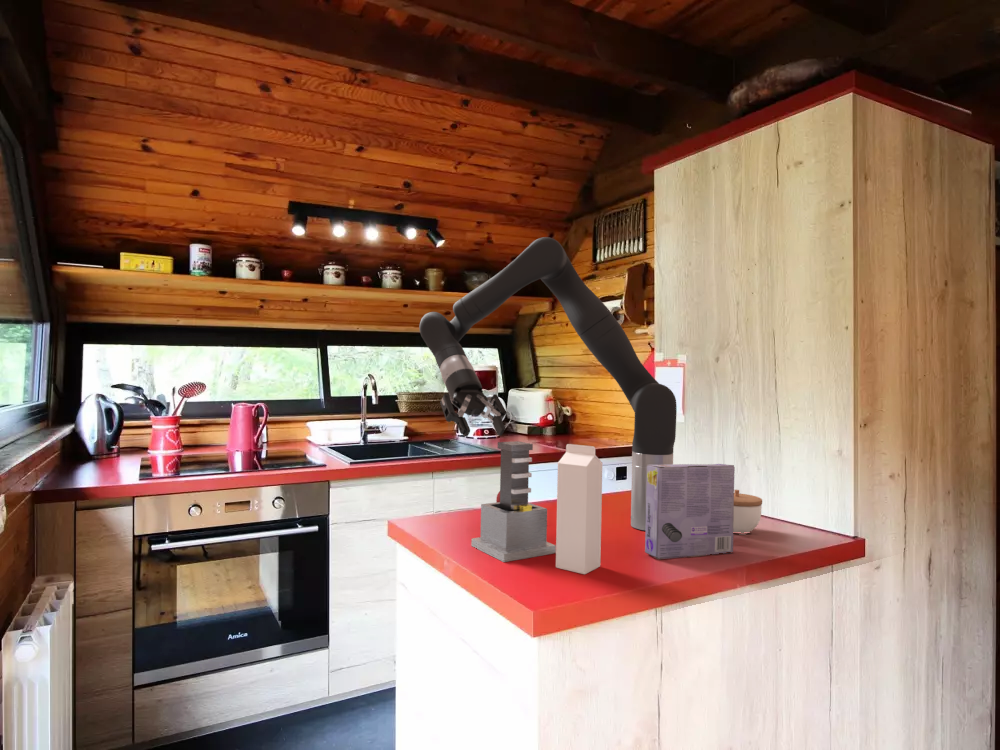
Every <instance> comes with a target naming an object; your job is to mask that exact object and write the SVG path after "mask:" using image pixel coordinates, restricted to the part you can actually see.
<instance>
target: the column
mask: <svg viewBox="0 0 1000 750" xmlns="http://www.w3.org/2000/svg"><path fill="white" fill-rule="evenodd" d="M533 446H534V444H533V443H530V442H525V441H519V440H518V441H517V440H516V441H501V442H500V441H497V449H500V474H499V475H500V482H499V485H500V487H499V491H500V509H502V510H505V511H508V512H511V511H519V510H520V505H526V504H529V505H531V504H532V503H531V502H529V494H531V493H532V488H531V487H529V478H532V472H529V471H530V470H529V469H530V468H529V465H530V464H529V463H532V462H533V457H530V451H533V448H534V447H533ZM530 503H531V504H530Z"/></svg>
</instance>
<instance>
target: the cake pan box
mask: <svg viewBox="0 0 1000 750" xmlns="http://www.w3.org/2000/svg"><path fill="white" fill-rule="evenodd" d="M735 471H736V470H735V465H733V464H726V463H725V464H724V463H713V464H712V463H709V464H706V463H703V464H702V463H700V464H698V463H696V464H695V463H694V464H693V463H687V464H686V463H682V464H681V463H679V464H678V463H677V464H674V463H673V464H671V465H647V488H646V530H645V533H644V534H645V535H644V537H645V540H644V541H645V542H644V545H645V546H644V553H646V554H648V555H649V556H651V557H652V558H655V559H656V560H664V559H665V560H667V559H678V558H693V557H695V558H696V557H705V556H711V555H710V554H712V555H720V554H719V553H723V554H727V553H726V552H733V553H734V534H733V531H734V529H733V522H734V490H735V474H736V473H735Z"/></svg>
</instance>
